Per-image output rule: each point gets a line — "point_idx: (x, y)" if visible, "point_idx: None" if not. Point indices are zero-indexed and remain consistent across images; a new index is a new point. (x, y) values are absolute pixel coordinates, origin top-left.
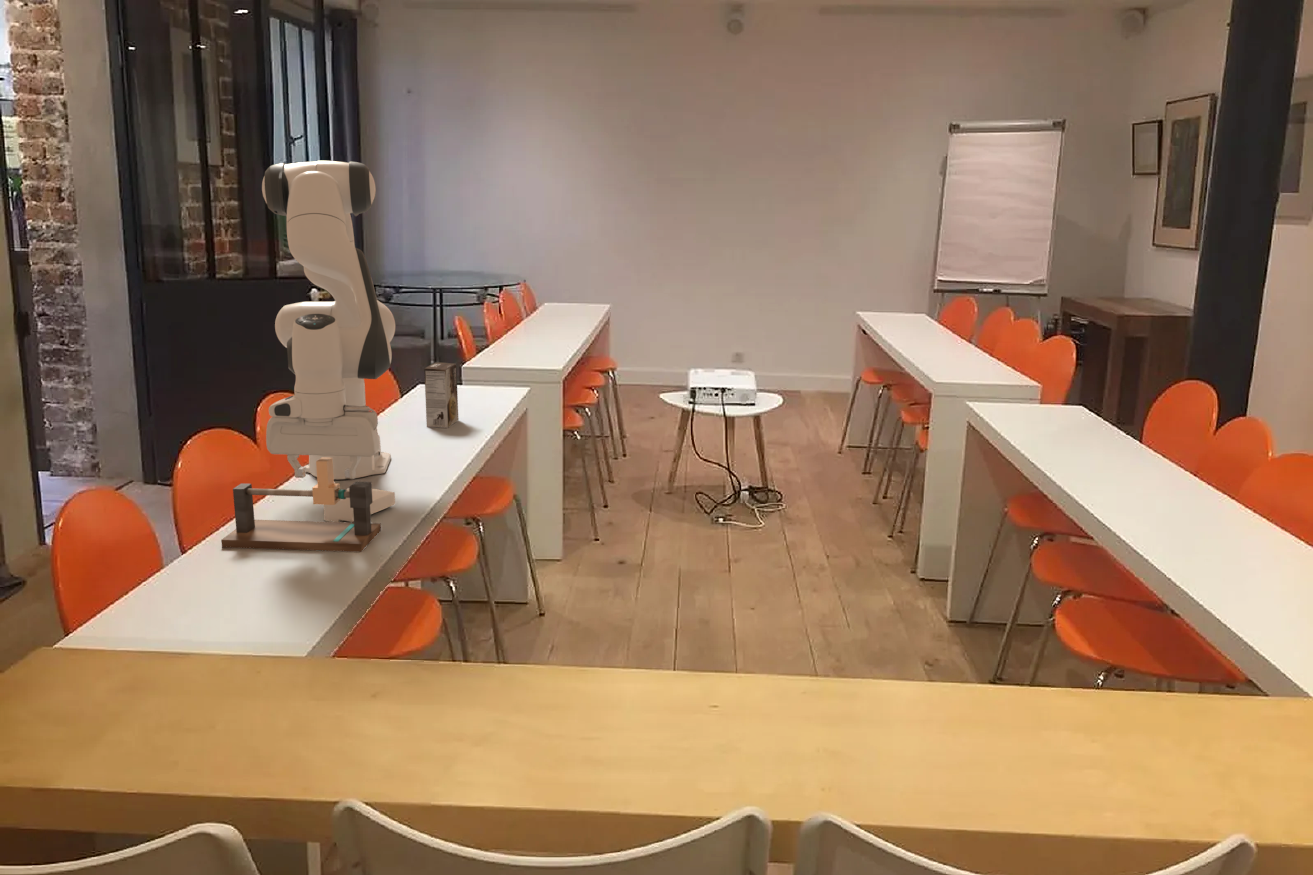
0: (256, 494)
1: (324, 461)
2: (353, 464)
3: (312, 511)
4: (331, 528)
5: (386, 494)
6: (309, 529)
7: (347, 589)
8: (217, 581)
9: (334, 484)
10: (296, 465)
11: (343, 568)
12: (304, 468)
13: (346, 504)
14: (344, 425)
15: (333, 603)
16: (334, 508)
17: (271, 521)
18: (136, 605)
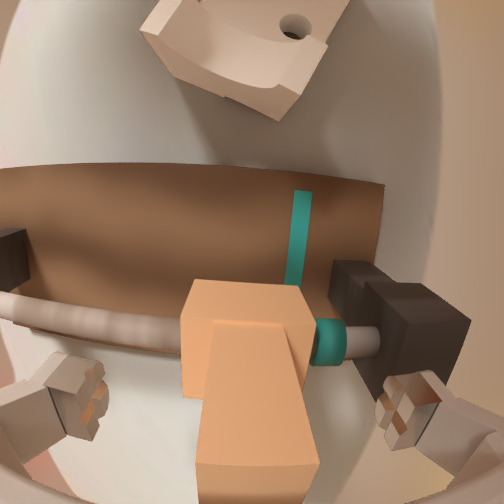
0: None
1: None
2: (453, 468)
3: (123, 15)
4: (239, 236)
5: None
6: (171, 247)
7: (333, 476)
8: (120, 458)
9: (290, 343)
10: (45, 436)
11: (318, 425)
12: (84, 408)
13: (265, 99)
14: None
15: (318, 500)
16: (208, 79)
17: (43, 177)
18: (82, 488)
